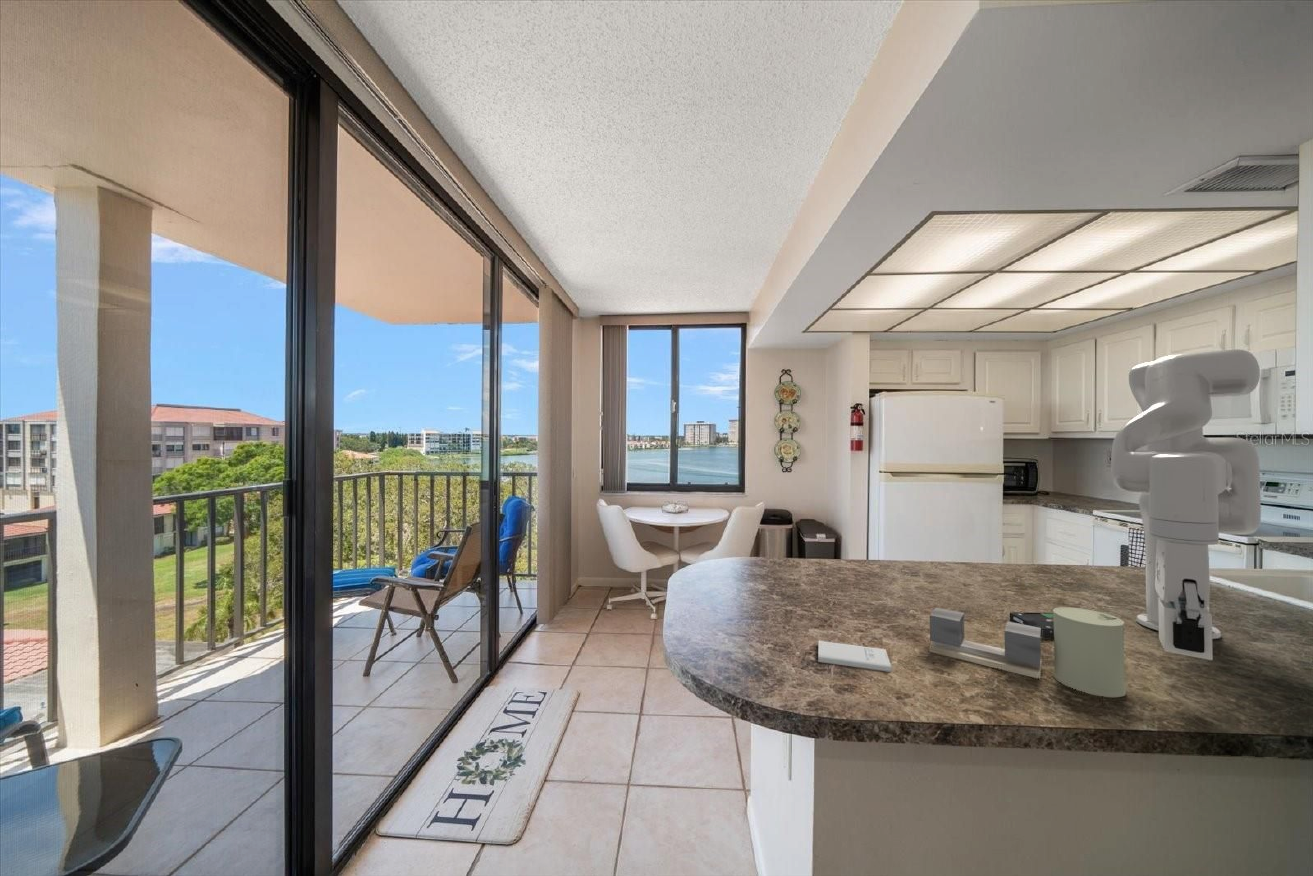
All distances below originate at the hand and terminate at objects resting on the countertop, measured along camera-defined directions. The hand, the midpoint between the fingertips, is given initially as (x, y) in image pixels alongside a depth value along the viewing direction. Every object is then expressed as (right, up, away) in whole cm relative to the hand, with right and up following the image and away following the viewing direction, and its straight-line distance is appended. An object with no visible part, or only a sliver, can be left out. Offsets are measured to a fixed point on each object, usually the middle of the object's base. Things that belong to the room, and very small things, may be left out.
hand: (1184, 641), depth 76 cm
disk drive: (+4, -10, +28) cm, 31 cm away
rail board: (-22, -9, +14) cm, 28 cm away
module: (0, -1, 0) cm, 1 cm away
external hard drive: (-47, -10, +15) cm, 51 cm away
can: (-11, -9, +5) cm, 15 cm away
